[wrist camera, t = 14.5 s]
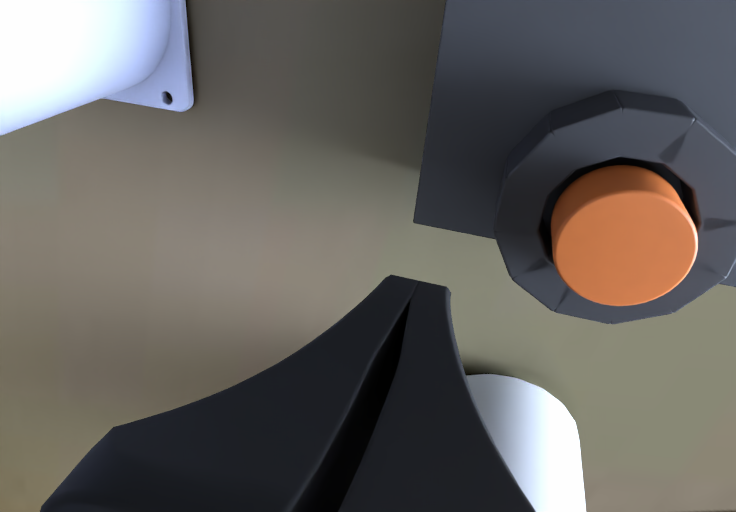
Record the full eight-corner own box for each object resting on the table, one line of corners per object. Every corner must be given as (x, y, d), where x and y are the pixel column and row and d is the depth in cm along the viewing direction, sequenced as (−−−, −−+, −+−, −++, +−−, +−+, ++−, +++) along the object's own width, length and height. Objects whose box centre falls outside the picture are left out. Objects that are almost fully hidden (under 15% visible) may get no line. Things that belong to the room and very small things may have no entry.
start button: (537, 258, 16) (538, 292, 14) (569, 153, 14) (573, 178, 12) (655, 282, 15) (668, 319, 14) (702, 176, 13) (723, 205, 12)
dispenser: (428, 200, 22) (397, 279, 17) (470, -61, 17) (444, -60, 12) (724, 256, 20) (788, 364, 15) (865, -20, 15) (1031, 2, 10)
